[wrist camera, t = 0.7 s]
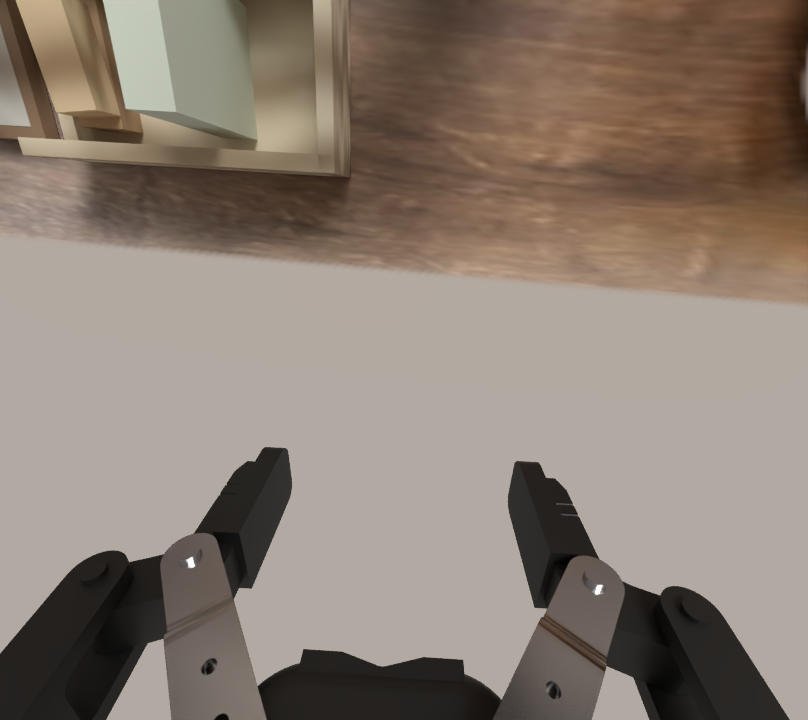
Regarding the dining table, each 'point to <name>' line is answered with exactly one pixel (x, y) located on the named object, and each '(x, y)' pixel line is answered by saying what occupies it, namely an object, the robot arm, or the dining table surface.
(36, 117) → the board
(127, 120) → the offcut lower
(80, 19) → the offcut upper
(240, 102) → the pale green slanted prism
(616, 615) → the robot arm
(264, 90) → the tray
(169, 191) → the dining table surface
